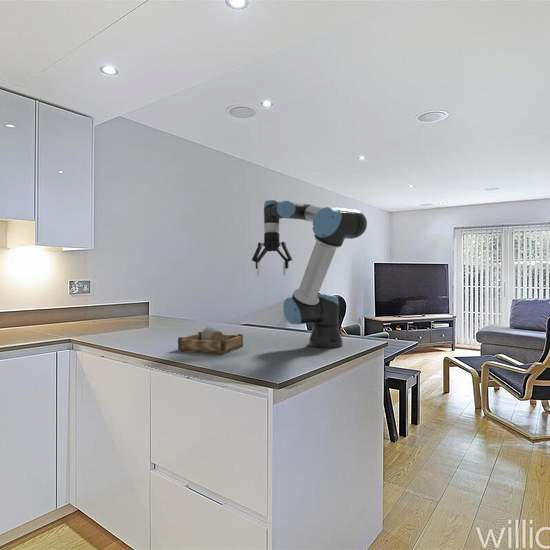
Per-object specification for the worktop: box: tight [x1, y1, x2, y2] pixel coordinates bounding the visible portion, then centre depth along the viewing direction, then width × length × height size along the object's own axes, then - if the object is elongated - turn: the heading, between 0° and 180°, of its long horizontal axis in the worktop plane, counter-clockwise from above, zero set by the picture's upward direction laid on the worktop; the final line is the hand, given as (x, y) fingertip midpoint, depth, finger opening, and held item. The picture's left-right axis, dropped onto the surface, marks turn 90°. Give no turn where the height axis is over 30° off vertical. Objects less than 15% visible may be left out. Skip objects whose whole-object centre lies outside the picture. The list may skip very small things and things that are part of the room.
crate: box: [177, 331, 244, 355], centre depth 173 cm, size 22×18×6 cm
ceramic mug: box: [201, 326, 224, 341], centre depth 174 cm, size 11×8×8 cm
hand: (271, 275), depth 195 cm, fingers open, 13 cm apart
